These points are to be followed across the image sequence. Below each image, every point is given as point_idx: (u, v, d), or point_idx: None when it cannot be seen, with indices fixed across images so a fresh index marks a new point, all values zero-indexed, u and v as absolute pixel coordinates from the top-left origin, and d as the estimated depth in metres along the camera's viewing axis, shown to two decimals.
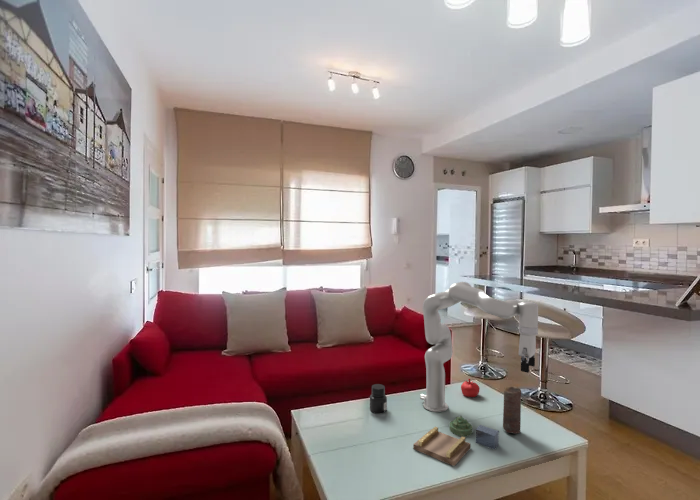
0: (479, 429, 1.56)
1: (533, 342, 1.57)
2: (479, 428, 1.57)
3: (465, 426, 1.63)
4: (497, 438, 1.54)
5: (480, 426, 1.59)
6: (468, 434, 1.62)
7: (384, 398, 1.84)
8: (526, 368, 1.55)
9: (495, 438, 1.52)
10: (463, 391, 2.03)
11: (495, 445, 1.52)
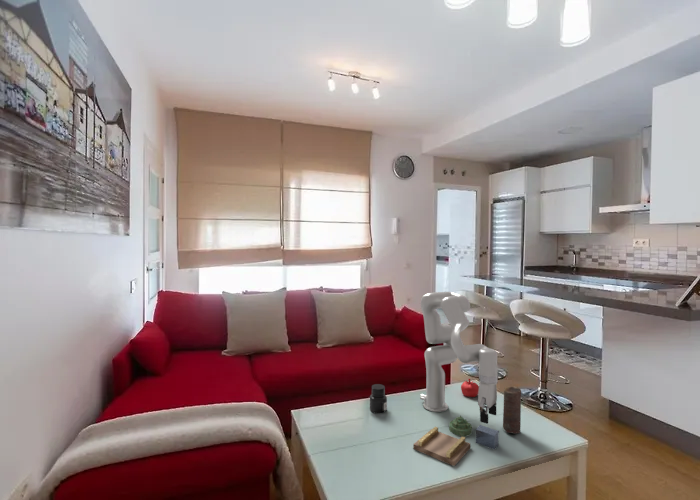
0: (479, 429, 1.56)
1: (492, 391, 1.52)
2: (479, 428, 1.57)
3: (465, 426, 1.64)
4: (497, 438, 1.54)
5: (480, 426, 1.59)
6: (468, 434, 1.62)
7: (384, 398, 1.84)
8: (485, 419, 1.50)
9: (495, 438, 1.52)
10: (463, 391, 2.03)
11: (495, 445, 1.52)
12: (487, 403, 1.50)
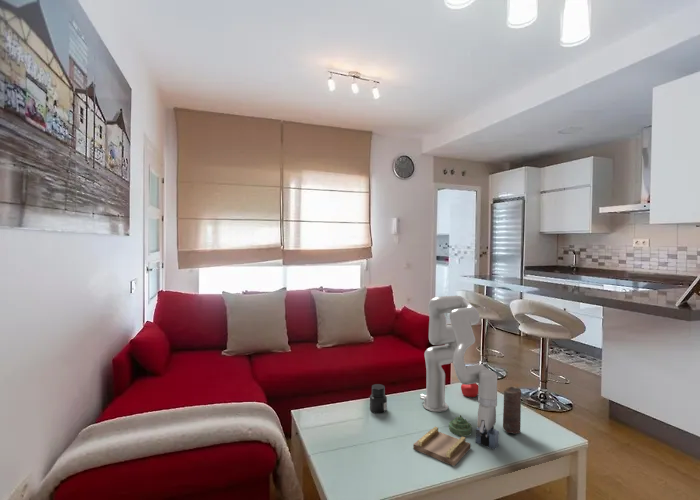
0: (479, 429, 1.56)
1: (492, 414, 1.53)
2: (479, 428, 1.57)
3: (464, 426, 1.64)
4: (497, 438, 1.54)
5: None
6: (467, 434, 1.62)
7: (384, 398, 1.84)
8: (486, 442, 1.53)
9: (495, 438, 1.52)
10: (463, 391, 2.03)
11: (495, 445, 1.52)
12: (486, 426, 1.51)
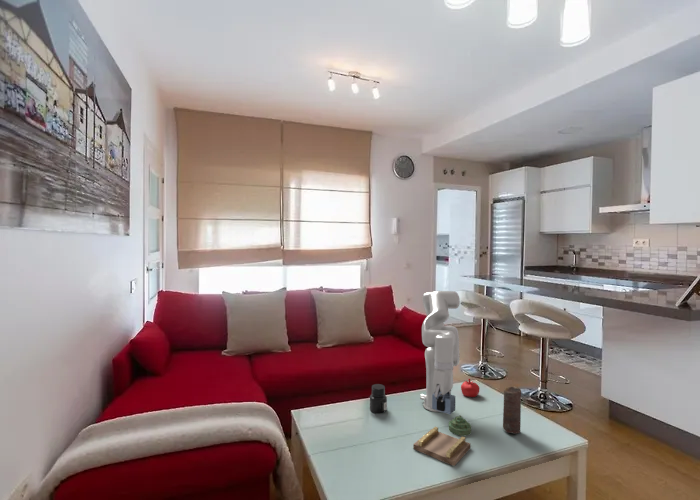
0: None
1: (448, 378, 1.49)
2: None
3: (464, 425, 1.64)
4: (453, 403, 1.50)
5: None
6: (467, 433, 1.63)
7: (384, 398, 1.84)
8: (441, 407, 1.48)
9: (451, 403, 1.48)
10: (463, 391, 2.03)
11: (451, 409, 1.48)
12: (441, 390, 1.47)
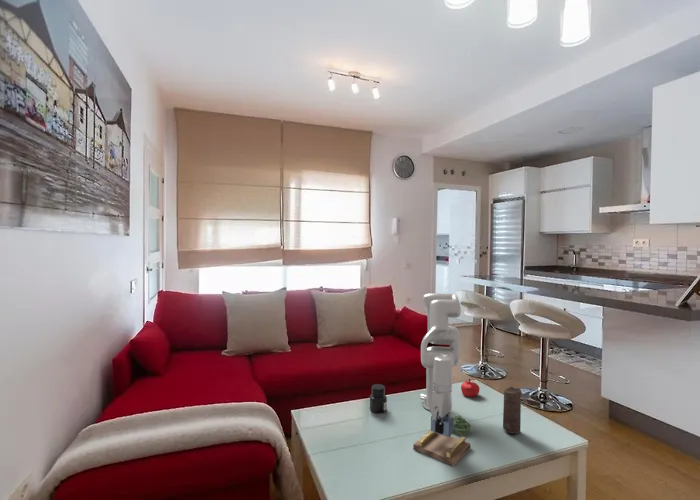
0: None
1: (446, 400, 1.49)
2: None
3: (464, 425, 1.64)
4: (452, 425, 1.50)
5: None
6: (467, 433, 1.63)
7: (384, 398, 1.84)
8: (440, 429, 1.48)
9: (450, 426, 1.48)
10: (463, 391, 2.03)
11: (449, 432, 1.48)
12: (440, 412, 1.47)
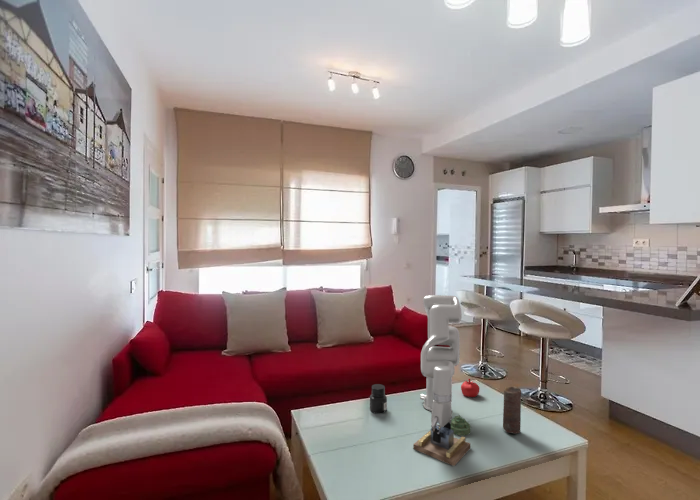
0: None
1: (446, 410, 1.49)
2: None
3: (463, 425, 1.64)
4: (452, 438, 1.50)
5: None
6: (466, 433, 1.63)
7: (384, 398, 1.84)
8: (437, 438, 1.47)
9: (450, 438, 1.49)
10: (463, 391, 2.03)
11: (449, 445, 1.48)
12: (440, 422, 1.47)
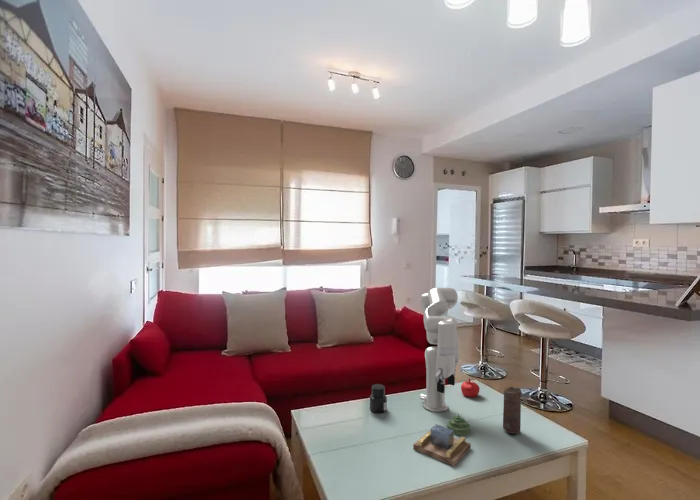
0: (434, 429, 1.52)
1: (450, 362, 1.54)
2: (434, 427, 1.53)
3: (462, 425, 1.64)
4: (452, 438, 1.50)
5: (436, 425, 1.55)
6: (465, 433, 1.63)
7: (384, 398, 1.84)
8: (441, 389, 1.53)
9: (450, 438, 1.49)
10: (463, 391, 2.03)
11: (449, 445, 1.48)
12: (443, 373, 1.53)
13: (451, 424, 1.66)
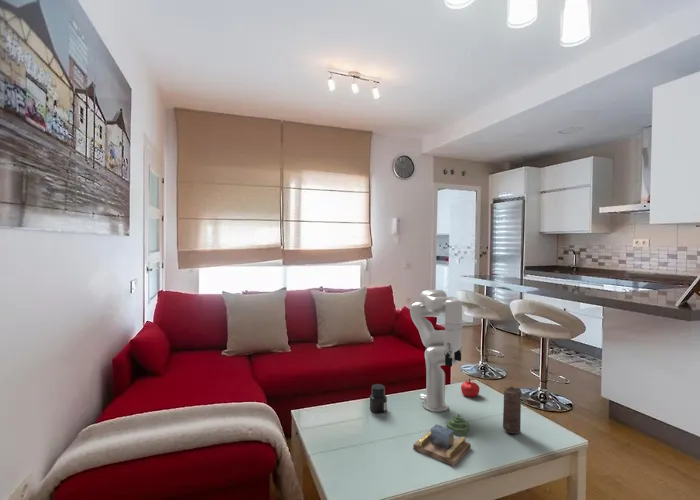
0: (434, 429, 1.52)
1: (457, 338, 1.65)
2: (434, 427, 1.53)
3: (462, 425, 1.64)
4: (452, 438, 1.50)
5: (436, 425, 1.55)
6: (465, 433, 1.63)
7: (384, 398, 1.84)
8: (449, 362, 1.64)
9: (450, 438, 1.49)
10: (463, 391, 2.03)
11: (449, 445, 1.48)
12: (451, 348, 1.63)
13: (451, 424, 1.66)
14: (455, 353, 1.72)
